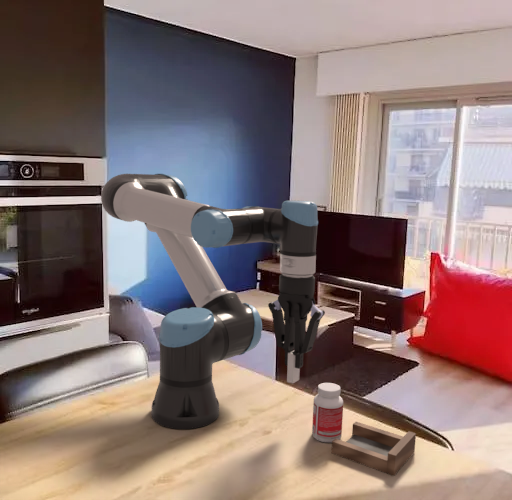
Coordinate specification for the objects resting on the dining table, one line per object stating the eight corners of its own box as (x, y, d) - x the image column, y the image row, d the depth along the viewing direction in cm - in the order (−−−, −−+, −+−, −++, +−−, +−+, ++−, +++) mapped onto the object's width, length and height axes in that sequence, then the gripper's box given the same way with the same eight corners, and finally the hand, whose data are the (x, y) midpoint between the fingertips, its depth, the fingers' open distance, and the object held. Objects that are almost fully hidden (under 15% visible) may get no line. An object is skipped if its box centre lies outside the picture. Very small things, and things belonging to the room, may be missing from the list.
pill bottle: (347, 439, 114) (350, 389, 112) (325, 446, 111) (327, 395, 109) (327, 427, 119) (330, 378, 118) (305, 433, 116) (308, 384, 114)
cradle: (331, 453, 108) (332, 434, 108) (355, 432, 117) (356, 414, 117) (394, 475, 101) (395, 455, 100) (414, 452, 110) (416, 433, 109)
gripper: (261, 272, 116) (258, 378, 119) (315, 281, 108) (310, 394, 112) (280, 268, 122) (277, 369, 125) (333, 275, 114) (327, 383, 118)
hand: (293, 380), depth 118 cm, fingers closed
